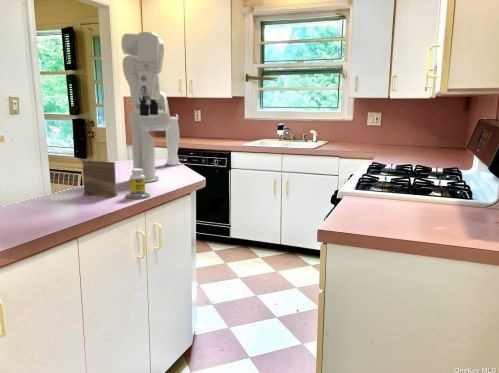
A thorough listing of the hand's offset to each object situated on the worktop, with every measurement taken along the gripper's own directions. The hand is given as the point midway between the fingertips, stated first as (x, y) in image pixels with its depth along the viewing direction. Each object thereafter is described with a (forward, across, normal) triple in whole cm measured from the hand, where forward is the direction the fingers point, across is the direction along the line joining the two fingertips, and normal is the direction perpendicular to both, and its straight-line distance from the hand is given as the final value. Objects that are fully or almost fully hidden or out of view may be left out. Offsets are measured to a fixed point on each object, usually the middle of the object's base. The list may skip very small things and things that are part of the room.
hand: (149, 115), depth 154 cm
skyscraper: (+31, +68, +12) cm, 76 cm away
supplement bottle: (+30, -6, +3) cm, 31 cm away
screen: (+30, -8, +17) cm, 36 cm away
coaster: (+30, -6, +3) cm, 31 cm away
